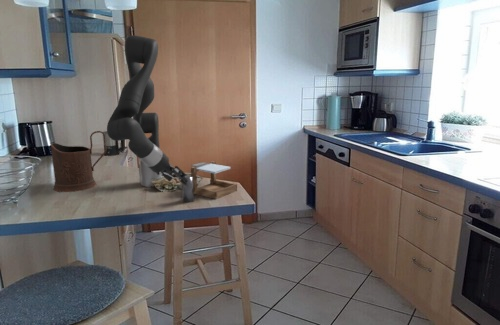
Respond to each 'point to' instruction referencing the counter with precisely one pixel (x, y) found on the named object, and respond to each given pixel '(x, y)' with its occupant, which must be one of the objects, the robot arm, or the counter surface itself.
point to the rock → (171, 183)
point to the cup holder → (73, 167)
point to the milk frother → (113, 145)
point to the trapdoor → (210, 167)
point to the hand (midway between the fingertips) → (178, 181)
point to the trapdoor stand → (212, 186)
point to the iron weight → (188, 190)
